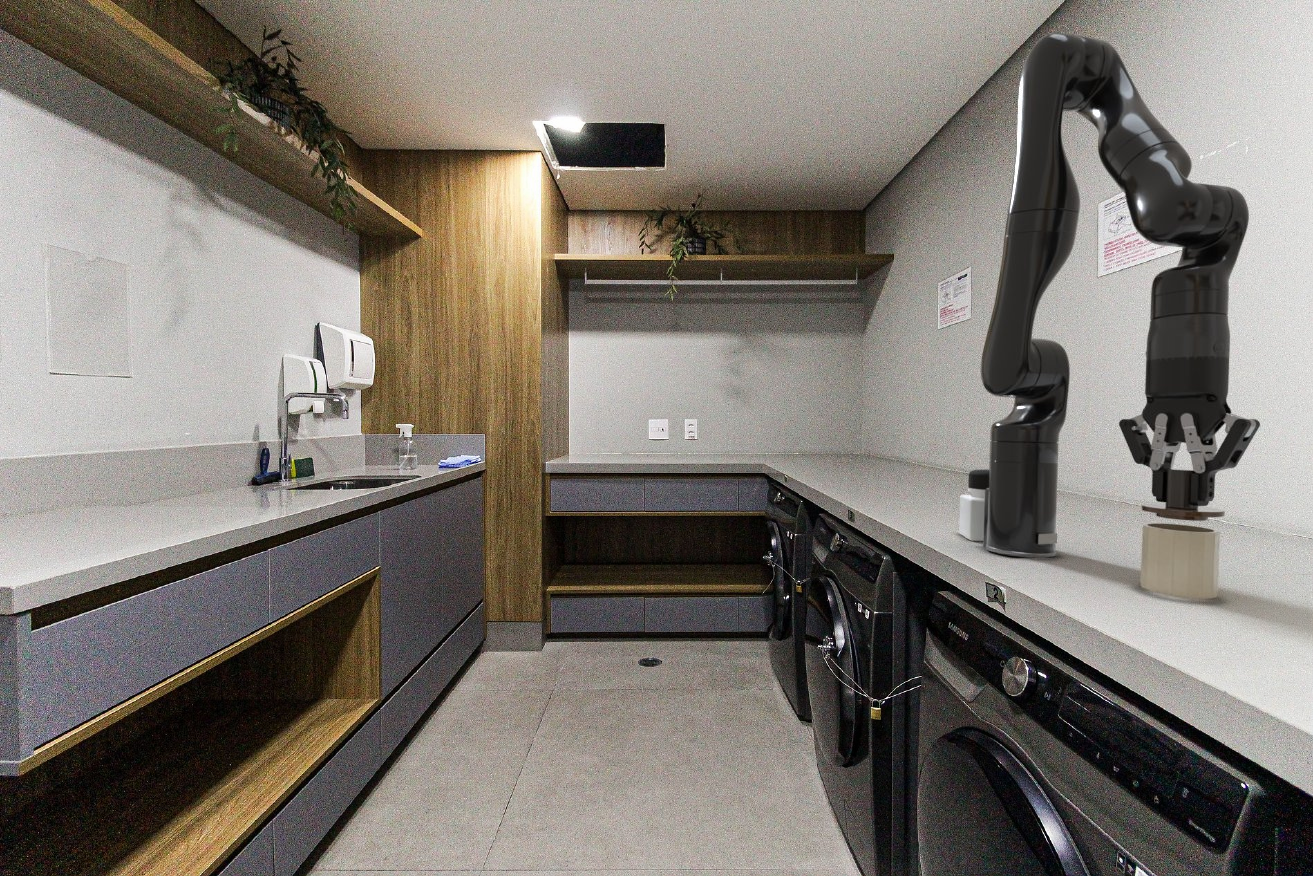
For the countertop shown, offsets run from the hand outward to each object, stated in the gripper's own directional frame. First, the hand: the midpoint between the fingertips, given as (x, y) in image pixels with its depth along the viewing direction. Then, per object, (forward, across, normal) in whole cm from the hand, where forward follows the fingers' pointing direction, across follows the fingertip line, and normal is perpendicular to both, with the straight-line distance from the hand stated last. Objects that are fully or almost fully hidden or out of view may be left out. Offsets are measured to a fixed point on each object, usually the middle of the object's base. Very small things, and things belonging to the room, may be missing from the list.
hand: (1181, 502), depth 75 cm
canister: (+11, 0, 0) cm, 11 cm away
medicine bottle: (+11, +35, -10) cm, 38 cm away
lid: (+1, 0, 0) cm, 1 cm away
